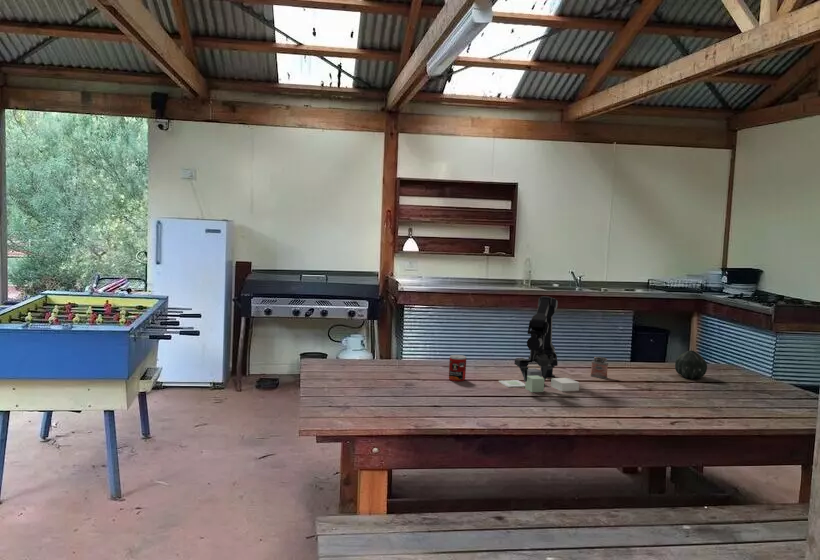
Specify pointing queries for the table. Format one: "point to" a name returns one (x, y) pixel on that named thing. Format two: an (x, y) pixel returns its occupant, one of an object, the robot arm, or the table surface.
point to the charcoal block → (534, 372)
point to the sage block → (535, 384)
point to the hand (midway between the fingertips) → (535, 381)
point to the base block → (564, 384)
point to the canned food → (457, 368)
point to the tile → (512, 383)
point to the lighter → (599, 367)
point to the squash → (691, 365)
